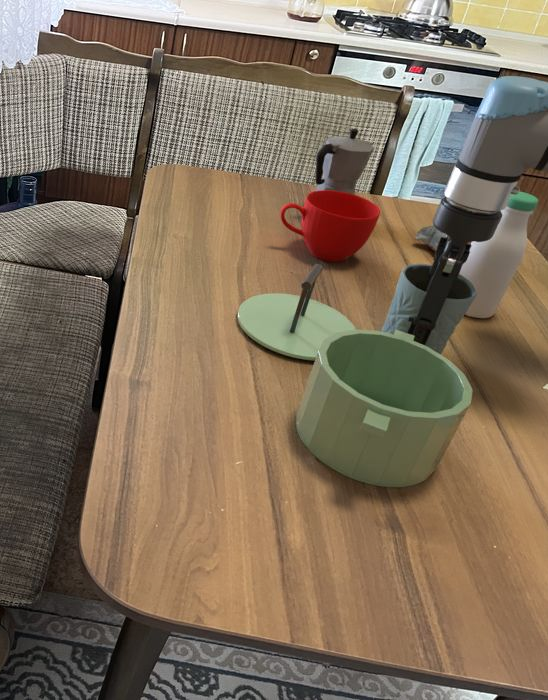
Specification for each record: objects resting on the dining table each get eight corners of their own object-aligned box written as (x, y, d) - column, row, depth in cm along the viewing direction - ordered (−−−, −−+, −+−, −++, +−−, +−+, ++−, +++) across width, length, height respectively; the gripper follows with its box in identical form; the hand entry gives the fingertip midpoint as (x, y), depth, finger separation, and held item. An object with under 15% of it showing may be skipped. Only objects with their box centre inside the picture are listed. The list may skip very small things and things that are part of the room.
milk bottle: (503, 320, 113) (562, 207, 101) (459, 318, 112) (514, 204, 100) (477, 296, 119) (530, 187, 108) (436, 295, 118) (485, 184, 107)
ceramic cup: (267, 232, 134) (279, 183, 128) (353, 243, 133) (370, 194, 127) (275, 262, 123) (290, 210, 117) (370, 274, 122) (389, 222, 117)
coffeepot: (332, 201, 151) (357, 119, 141) (366, 218, 144) (395, 133, 134) (282, 211, 143) (306, 125, 133) (316, 229, 137) (344, 140, 127)
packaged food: (488, 260, 132) (499, 236, 129) (439, 264, 128) (449, 240, 126) (456, 241, 139) (465, 218, 136) (408, 244, 135) (417, 221, 132)
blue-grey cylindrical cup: (400, 325, 108) (428, 258, 101) (458, 359, 101) (493, 289, 95) (360, 341, 103) (386, 271, 96) (418, 377, 96) (451, 305, 90)
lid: (365, 323, 108) (387, 268, 102) (342, 379, 94) (364, 319, 89) (256, 288, 114) (271, 234, 109) (220, 335, 101) (234, 277, 95)
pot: (444, 415, 90) (478, 350, 84) (424, 525, 73) (464, 453, 67) (318, 370, 96) (340, 306, 90) (273, 462, 79) (297, 391, 73)
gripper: (501, 241, 79) (428, 391, 92) (507, 187, 96) (445, 321, 109) (433, 223, 82) (372, 371, 95) (450, 173, 99) (396, 305, 111)
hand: (411, 344), depth 102 cm, fingers closed on blue-grey cylindrical cup, 9 cm apart
